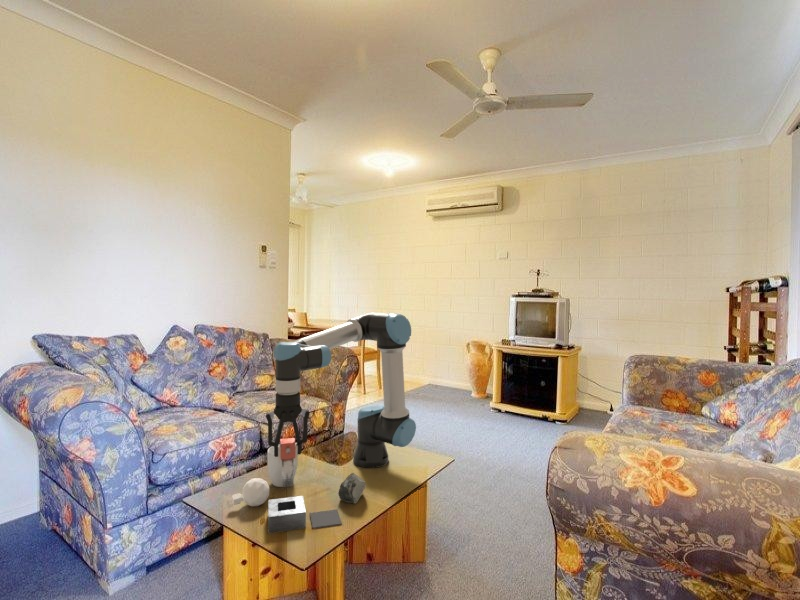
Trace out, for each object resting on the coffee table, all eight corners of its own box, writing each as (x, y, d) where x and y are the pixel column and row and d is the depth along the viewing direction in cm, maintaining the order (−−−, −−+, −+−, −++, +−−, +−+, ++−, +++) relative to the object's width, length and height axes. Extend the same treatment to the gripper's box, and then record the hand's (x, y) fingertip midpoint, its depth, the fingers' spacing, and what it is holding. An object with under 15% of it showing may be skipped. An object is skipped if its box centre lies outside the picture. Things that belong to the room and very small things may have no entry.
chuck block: (302, 510, 143) (302, 495, 143) (305, 528, 133) (305, 512, 133) (268, 515, 140) (268, 499, 140) (268, 533, 130) (268, 517, 129)
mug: (305, 489, 158) (305, 454, 158) (275, 497, 152) (275, 460, 152) (291, 474, 171) (291, 441, 170) (263, 480, 165) (263, 447, 164)
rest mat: (337, 510, 144) (337, 509, 144) (341, 524, 135) (341, 523, 135) (309, 514, 141) (309, 512, 141) (312, 528, 133) (312, 527, 133)
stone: (347, 466, 155) (355, 476, 146) (366, 480, 158) (376, 492, 149) (330, 489, 153) (337, 501, 143) (350, 503, 156) (359, 516, 147)
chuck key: (295, 489, 133) (295, 444, 133) (280, 491, 132) (280, 445, 132) (293, 478, 141) (294, 435, 141) (280, 479, 140) (280, 437, 139)
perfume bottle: (266, 489, 154) (231, 501, 148) (265, 468, 151) (229, 480, 145) (273, 506, 147) (236, 519, 141) (272, 485, 144) (234, 498, 138)
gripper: (314, 387, 142) (314, 457, 142) (258, 390, 136) (258, 463, 137) (317, 393, 135) (317, 466, 135) (258, 396, 129) (258, 473, 130)
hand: (287, 465), depth 136 cm, fingers closed on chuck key, 4 cm apart
